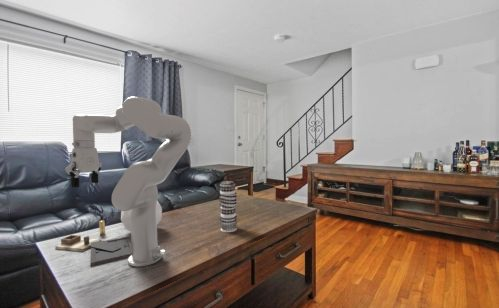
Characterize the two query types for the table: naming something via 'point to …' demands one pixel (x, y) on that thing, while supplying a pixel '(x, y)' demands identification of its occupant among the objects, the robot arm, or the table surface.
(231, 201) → the decorative candle
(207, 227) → the table surface
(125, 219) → the geometric orb
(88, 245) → the board
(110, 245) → the picture frame
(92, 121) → the robot arm
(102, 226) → the brass pin
